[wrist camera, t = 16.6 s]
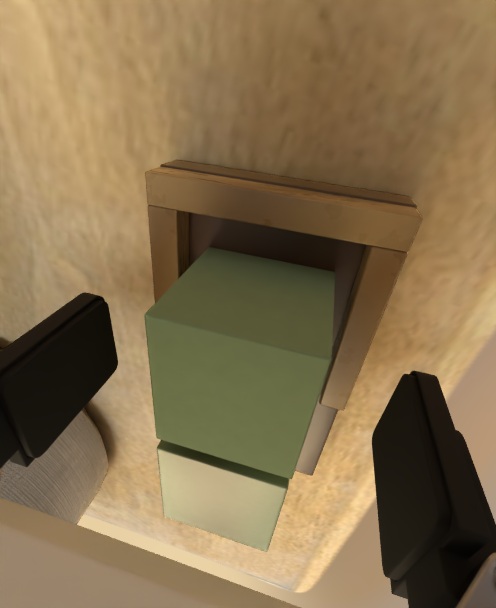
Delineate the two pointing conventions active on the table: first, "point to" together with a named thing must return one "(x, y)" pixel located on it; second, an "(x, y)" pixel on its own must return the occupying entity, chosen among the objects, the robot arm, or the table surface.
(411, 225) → the brown wooden rectangular tray
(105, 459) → the planter
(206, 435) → the block
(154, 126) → the table surface
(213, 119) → the table surface
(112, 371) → the robot arm
